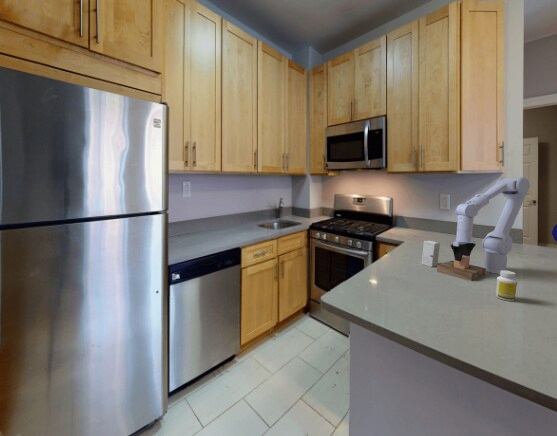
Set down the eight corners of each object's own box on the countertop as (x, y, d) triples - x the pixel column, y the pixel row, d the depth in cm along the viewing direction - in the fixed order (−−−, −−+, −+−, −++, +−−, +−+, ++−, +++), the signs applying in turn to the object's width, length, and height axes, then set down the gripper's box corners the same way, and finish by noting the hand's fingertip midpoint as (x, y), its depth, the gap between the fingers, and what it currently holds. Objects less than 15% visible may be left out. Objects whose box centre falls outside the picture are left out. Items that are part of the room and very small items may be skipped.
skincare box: (421, 263, 133) (422, 240, 131) (427, 262, 134) (428, 240, 133) (432, 267, 127) (434, 243, 125) (438, 266, 129) (440, 242, 127)
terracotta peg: (457, 270, 122) (459, 254, 121) (468, 273, 118) (469, 256, 117) (453, 272, 120) (454, 255, 119) (463, 275, 116) (465, 258, 115)
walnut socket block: (451, 266, 128) (452, 260, 128) (485, 274, 117) (486, 268, 116) (436, 271, 121) (437, 265, 121) (471, 280, 109) (471, 274, 109)
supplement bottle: (518, 302, 90) (522, 275, 88) (500, 300, 91) (504, 274, 89) (508, 295, 95) (511, 270, 94) (491, 294, 96) (494, 269, 95)
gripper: (467, 233, 109) (464, 264, 111) (482, 230, 117) (479, 258, 118) (449, 230, 115) (446, 260, 117) (464, 227, 123) (461, 255, 124)
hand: (461, 259), depth 118 cm, fingers open, 7 cm apart
